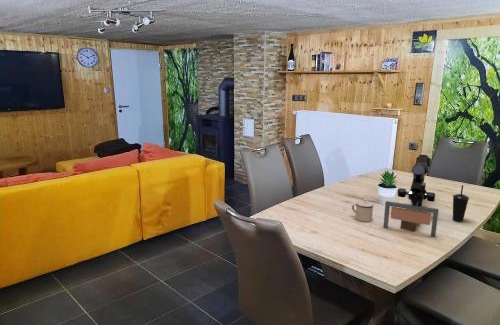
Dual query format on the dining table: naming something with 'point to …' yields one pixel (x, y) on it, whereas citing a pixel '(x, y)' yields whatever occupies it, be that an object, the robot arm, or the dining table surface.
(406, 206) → the gate frame
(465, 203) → the drinking cup
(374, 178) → the dining table surface
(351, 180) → the dining table surface
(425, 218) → the flap door
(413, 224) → the block
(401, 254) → the dining table surface
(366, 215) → the teacup with lid
